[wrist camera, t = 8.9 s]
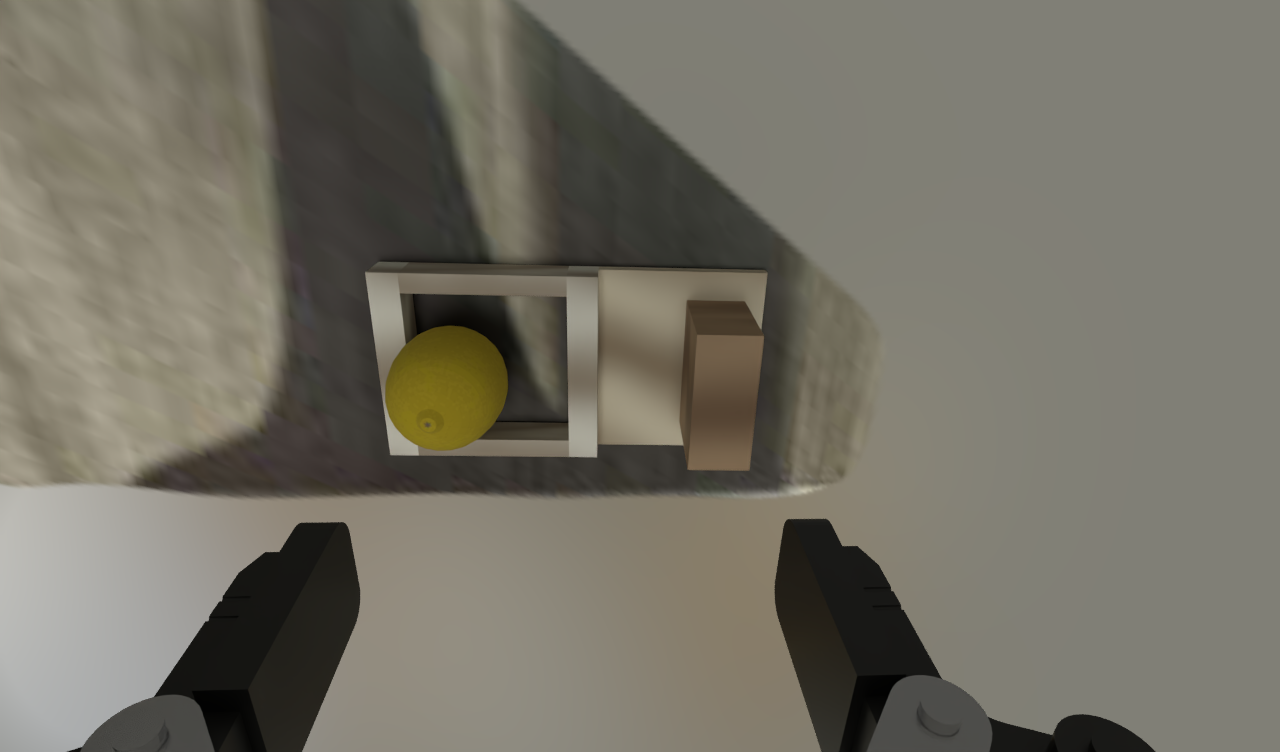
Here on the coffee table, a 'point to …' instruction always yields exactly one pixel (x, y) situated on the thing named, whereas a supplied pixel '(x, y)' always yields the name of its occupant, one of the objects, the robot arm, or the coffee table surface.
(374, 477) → the coffee table surface
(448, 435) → the lemon
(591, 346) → the white open frame tray
